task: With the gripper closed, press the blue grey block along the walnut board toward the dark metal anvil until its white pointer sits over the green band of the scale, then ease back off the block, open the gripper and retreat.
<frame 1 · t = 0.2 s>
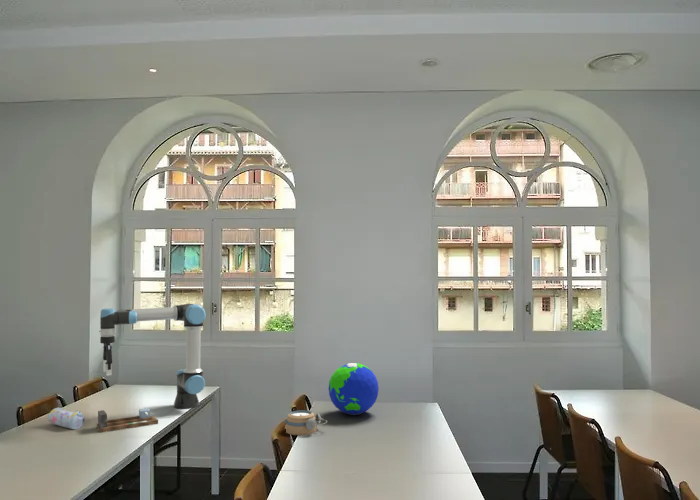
hand: (107, 373, 319), 28 cm above the table, fingers open, 13 cm apart
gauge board: (127, 425, 312), on the table
pencil case: (66, 427, 311), on the table
blue grey block: (145, 415, 315), point 5 cm above the table, slide at 0.0 cm
alarm clock: (306, 431, 299), on the table
globe: (353, 414, 332), on the table
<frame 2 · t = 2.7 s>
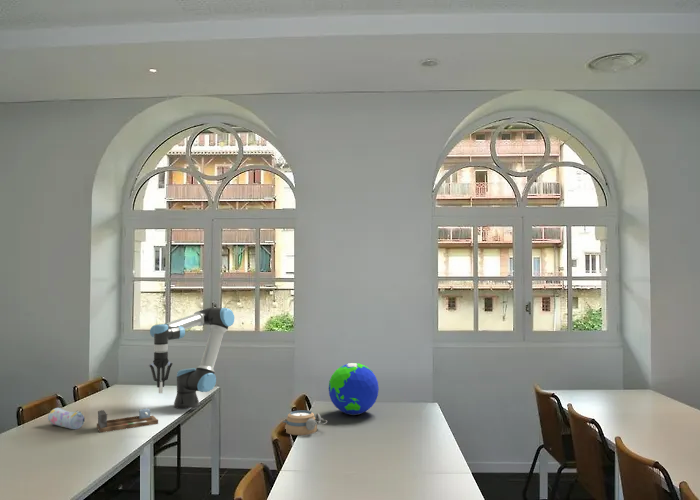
hand: (160, 392, 322), 16 cm above the table, fingers closed
nothing on the table moved.
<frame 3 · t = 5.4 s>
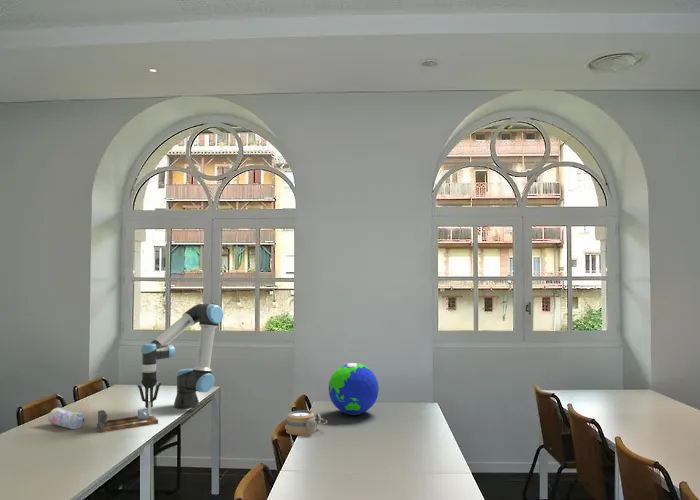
hand: (149, 413, 318), 5 cm above the table, fingers closed
blue grey block: (143, 415, 315), point 5 cm above the table, slide at 0.8 cm, touching gripper
everything else where it was.
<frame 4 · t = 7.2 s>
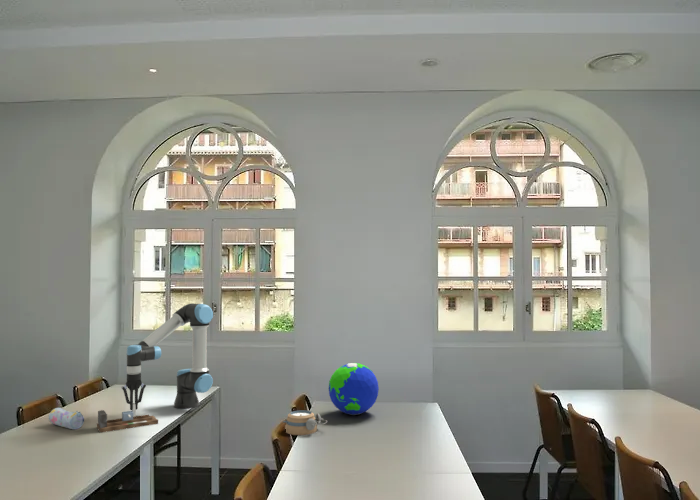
hand: (133, 415, 314), 5 cm above the table, fingers closed
blue grey block: (128, 417, 310), point 5 cm above the table, slide at 9.0 cm, touching gripper
everything else where it was.
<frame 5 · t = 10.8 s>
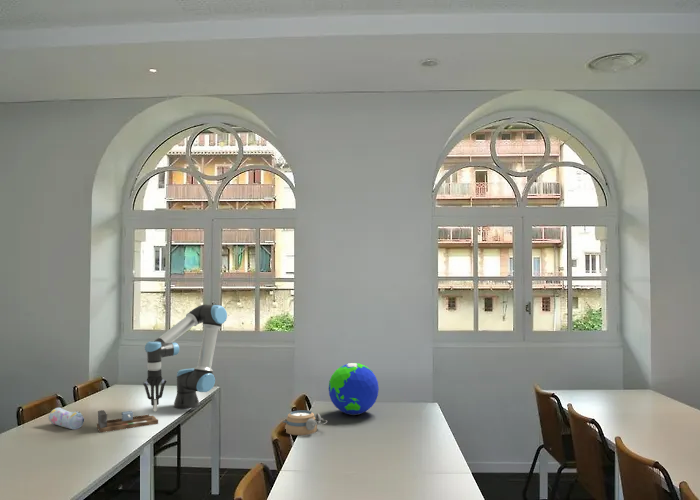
hand: (155, 410, 320), 6 cm above the table, fingers closed
blue grey block: (128, 417, 310), point 5 cm above the table, slide at 9.2 cm
everything else where it was.
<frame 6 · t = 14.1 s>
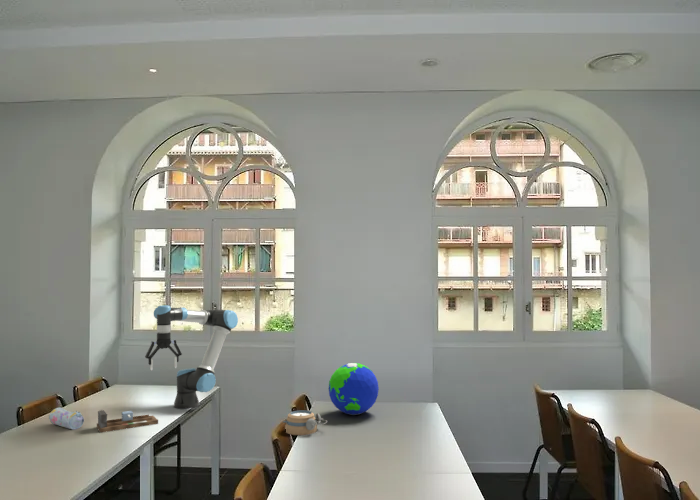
hand: (163, 369, 325), 29 cm above the table, fingers open, 13 cm apart
nothing on the table moved.
at the end: blue grey block slide at 9.2 cm; the gripper is holding nothing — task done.
